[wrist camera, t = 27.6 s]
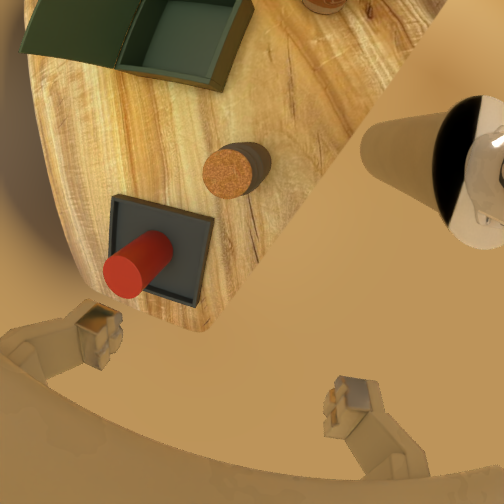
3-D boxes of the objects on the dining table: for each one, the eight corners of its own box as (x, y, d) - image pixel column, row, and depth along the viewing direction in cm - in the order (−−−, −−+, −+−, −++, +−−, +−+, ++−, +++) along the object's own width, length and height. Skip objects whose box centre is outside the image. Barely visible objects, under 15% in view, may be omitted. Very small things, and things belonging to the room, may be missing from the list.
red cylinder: (175, 235, 45) (143, 263, 35) (170, 271, 48) (141, 305, 38) (140, 225, 46) (102, 249, 36) (137, 260, 48) (103, 290, 38)
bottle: (227, 145, 40) (192, 148, 26) (269, 140, 39) (254, 139, 25) (233, 184, 42) (201, 208, 28) (273, 180, 41) (262, 202, 27)
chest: (254, 9, 31) (247, -11, 25) (222, 92, 37) (208, 84, 31) (167, -2, 32) (149, -18, 25) (137, 75, 37) (113, 69, 31)
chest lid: (74, -60, 11) (53, -49, 12) (20, 52, 17) (6, 55, 17) (150, -19, 25) (128, -16, 26) (113, 68, 31) (93, 67, 31)
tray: (214, 218, 44) (210, 222, 42) (198, 301, 50) (195, 308, 48) (118, 193, 45) (111, 196, 43) (113, 273, 51) (108, 278, 49)
